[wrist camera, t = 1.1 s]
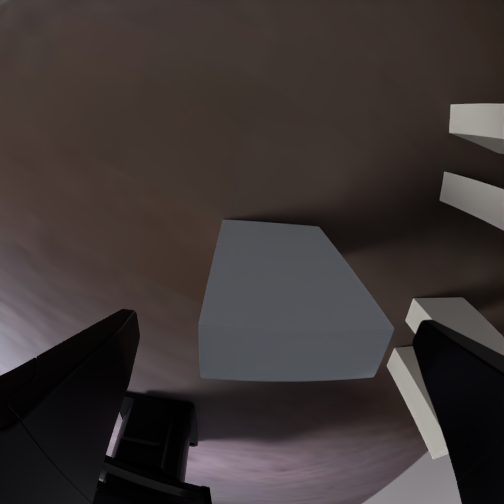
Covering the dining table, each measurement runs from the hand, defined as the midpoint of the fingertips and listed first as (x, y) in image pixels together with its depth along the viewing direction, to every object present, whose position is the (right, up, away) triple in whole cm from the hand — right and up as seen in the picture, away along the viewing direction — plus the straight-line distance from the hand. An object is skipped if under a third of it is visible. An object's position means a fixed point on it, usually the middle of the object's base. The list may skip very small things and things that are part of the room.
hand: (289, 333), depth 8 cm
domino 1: (0, +3, +7) cm, 8 cm away
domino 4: (+13, +6, +6) cm, 15 cm away
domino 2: (+12, -6, +11) cm, 17 cm away
